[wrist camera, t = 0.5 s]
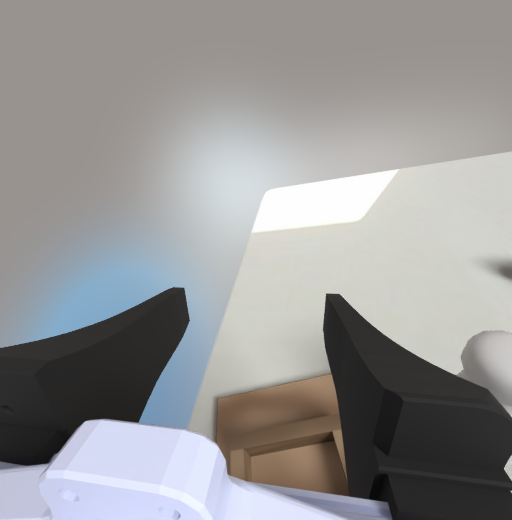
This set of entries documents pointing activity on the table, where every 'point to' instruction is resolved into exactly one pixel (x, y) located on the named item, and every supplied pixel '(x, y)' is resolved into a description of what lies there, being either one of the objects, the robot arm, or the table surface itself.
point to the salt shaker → (490, 365)
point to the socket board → (285, 436)
